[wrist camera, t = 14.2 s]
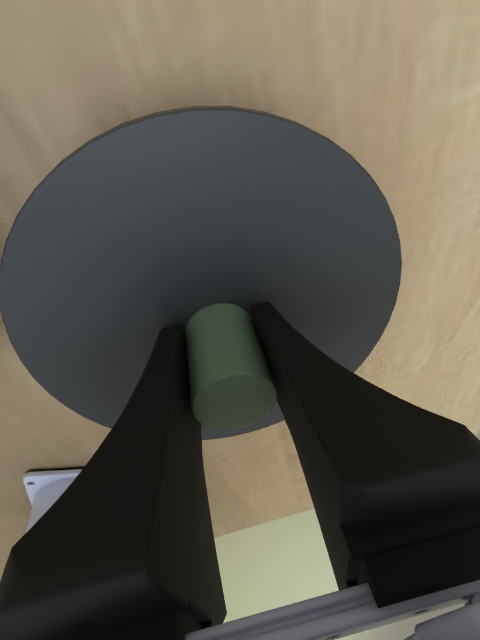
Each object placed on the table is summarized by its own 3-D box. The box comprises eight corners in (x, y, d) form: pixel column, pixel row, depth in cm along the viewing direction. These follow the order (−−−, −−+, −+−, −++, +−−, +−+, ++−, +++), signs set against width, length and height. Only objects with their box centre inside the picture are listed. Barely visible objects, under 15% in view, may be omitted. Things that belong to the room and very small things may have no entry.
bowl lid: (315, 418, 18) (350, 499, 15) (42, 424, 15) (6, 533, 11) (457, 155, 11) (594, 201, 7) (-43, 37, 7) (-229, 20, 4)
